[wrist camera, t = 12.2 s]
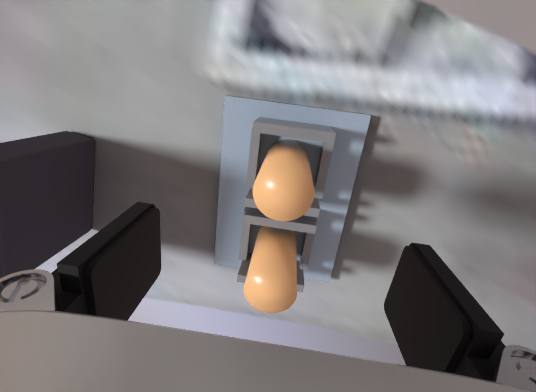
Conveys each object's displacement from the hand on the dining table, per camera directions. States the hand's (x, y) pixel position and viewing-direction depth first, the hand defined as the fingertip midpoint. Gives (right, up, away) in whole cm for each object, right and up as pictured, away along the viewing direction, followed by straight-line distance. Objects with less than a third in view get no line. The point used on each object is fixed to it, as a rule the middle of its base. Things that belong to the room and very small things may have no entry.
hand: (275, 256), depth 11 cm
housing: (+1, +2, +18) cm, 19 cm away
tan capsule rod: (+2, +6, +16) cm, 17 cm away
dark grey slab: (-21, +4, +20) cm, 29 cm away
